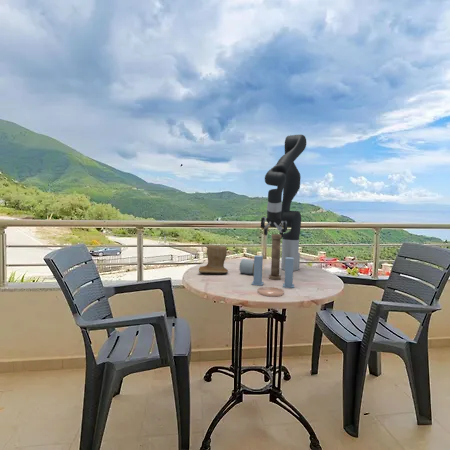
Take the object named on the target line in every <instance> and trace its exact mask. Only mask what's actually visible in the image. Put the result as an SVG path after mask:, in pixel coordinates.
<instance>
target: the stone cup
mask: <svg viewBox="0 0 450 450" xmlns="http://www.w3.org/2000/svg"><path fill="white" fill-rule="evenodd" d="M227 251H228V249H227V247H226V246H224V245H223V246H222V245H215V244H209V245H208V246H207V249H206V256H207V264H206V265H204V266H203V265H202V266H200V267H199V268H198V273H199V274H215V275H216V274H226V273H228V272H229V270H228V269H227V268H225V265H224V264H225V261H226V258H227V254H228V252H227Z"/></svg>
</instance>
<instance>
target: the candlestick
mask: <svg viewBox="0 0 450 450" xmlns="http://www.w3.org/2000/svg"><path fill="white" fill-rule="evenodd" d="M270 238H271V240H272V241H271V261H270V262H271V263H270V264H271V267H270V268H271V269H270V274H269V275H268V278H269V280H271V281H281V280H282V277H281V276H282V275H280V262H281V240H282V238H281V235H280V233H279V234H278V233H273V234H271V237H270Z"/></svg>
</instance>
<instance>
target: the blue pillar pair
mask: <svg viewBox="0 0 450 450" xmlns="http://www.w3.org/2000/svg"><path fill="white" fill-rule="evenodd" d="M263 256H264V255H254V257H253V261H254V275H253V280H252V282H251V285H252V286H259V287H260V286H261V287H264V283H265V282H264V281H263V262H264V261H263V259H264V257H263ZM293 260H294V258H291V257H286V258H285V270H284V283H282V288H285V289H295V284H294V283H293V280H294V271H293Z"/></svg>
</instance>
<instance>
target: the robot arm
mask: <svg viewBox="0 0 450 450" xmlns="http://www.w3.org/2000/svg"><path fill="white" fill-rule="evenodd" d="M306 147H307V138H306V135H304V134H293V135H291V134H290V135H287V136H286V137H285V140H284V154H283V155H282V156H281V157H280V158H279V159H278V161H277V162H276V164H275V165H274V166H273V167H271V168H270V169H269V170H268V171H267V172H266V174H265V175H264V182H265V183H266V185H268V186H272V187H273V186H274V187H277V188H270V189H269V190H268V191H267V192H268V194H267V206H266V216H262V217H261V220H260V228H263V234H264V236H267V235H268V233H269V232H268V231H269V230H268V229H269V227H270V228H276V229H277V230H278V231H279V234H280V235H281V241H282V244H281V268H280V269H281V270H282V271H285V258H286V257H291V258H294V260H293V272H295V271H299V270H300V262H301V261H300V260H301V259H300V258H301V253H300V252H299V250H300V248H299V247H300V235H301V228H302V227H301V225H302V214H301V212H300V211H297V210H291V204H292V201H293V200H294V198H295V197H296V196H297V194H298V192H299V190H300V188H301V173H300V171H299V170H298V168H297V165H296V164H295V161H296V159H297V158H298V157H300V156H301V154H303V152H304V151H305V150H306ZM266 223H267V224H266ZM265 224H266V225H265ZM288 228H290V230H289V231H288ZM287 231H288V232H287Z"/></svg>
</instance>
